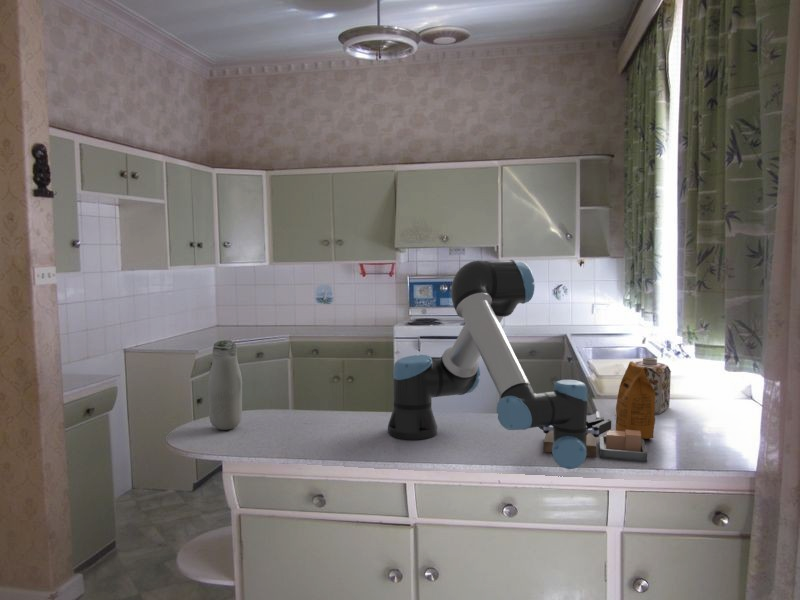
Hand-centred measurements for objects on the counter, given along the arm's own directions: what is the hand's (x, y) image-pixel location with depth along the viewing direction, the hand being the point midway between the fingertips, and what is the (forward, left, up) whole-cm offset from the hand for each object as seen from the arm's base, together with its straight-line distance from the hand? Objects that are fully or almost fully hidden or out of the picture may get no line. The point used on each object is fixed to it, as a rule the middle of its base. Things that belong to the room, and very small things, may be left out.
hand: (572, 414), depth 179 cm
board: (0, +3, -10) cm, 11 cm away
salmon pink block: (+12, +5, -10) cm, 16 cm away
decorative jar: (+25, +56, -11) cm, 62 cm away
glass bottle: (-104, -10, -10) cm, 105 cm away
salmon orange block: (+14, +3, -7) cm, 16 cm away
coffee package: (+18, +20, -10) cm, 29 cm away
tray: (+14, +3, -10) cm, 17 cm away
